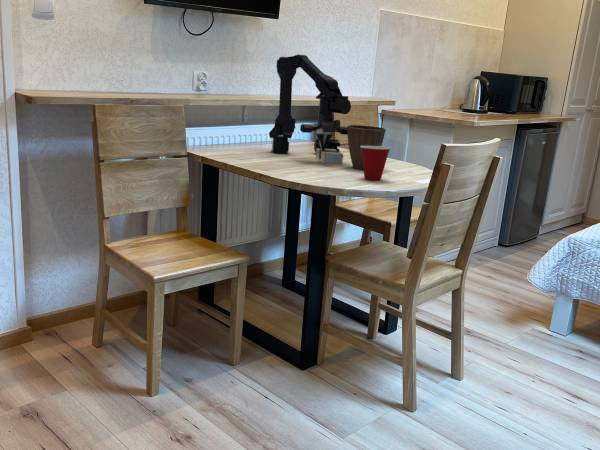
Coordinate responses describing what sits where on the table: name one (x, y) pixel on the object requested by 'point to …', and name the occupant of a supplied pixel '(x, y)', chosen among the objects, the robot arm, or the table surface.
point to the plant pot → (362, 141)
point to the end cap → (328, 145)
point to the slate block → (331, 157)
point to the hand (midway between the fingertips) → (322, 150)
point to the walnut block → (318, 151)
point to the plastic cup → (374, 161)
